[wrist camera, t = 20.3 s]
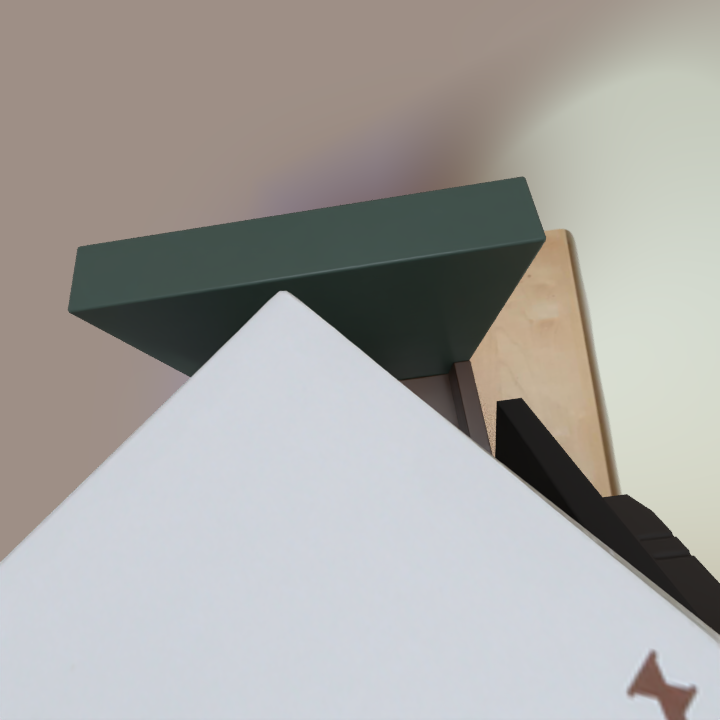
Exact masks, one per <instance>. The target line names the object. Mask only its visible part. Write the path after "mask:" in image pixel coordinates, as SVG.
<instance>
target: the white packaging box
mask: <svg viewBox="0 0 720 720" xmlns="http://www.w3.org/2000/svg"><path fill="white" fill-rule="evenodd" d="M0 720H720V635H719V634H718V633H717V632H715V631H714V630H713V629H712V628H710V627H709V626H708V625H706V624H705V623H704V622H703V621H701V620H700V619H699V618H698V617H696V616H695V615H694V614H693V613H691V612H690V611H689V610H687V609H686V608H685V607H684V606H682V605H681V604H680V603H679V602H677V601H676V600H675V599H674V598H672V597H671V596H670V595H668V594H667V593H666V592H665V591H663V590H662V589H661V588H660V587H658V586H657V585H656V584H655V583H653V582H652V581H651V580H650V579H648V578H647V577H646V576H644V575H643V574H642V573H641V572H639V571H638V570H637V569H636V568H634V567H633V566H632V565H631V564H629V563H628V562H627V561H625V560H624V559H623V558H622V557H620V556H619V555H618V554H617V553H615V552H614V551H613V550H612V549H610V548H609V547H608V546H606V545H605V544H604V543H603V542H601V541H600V540H599V539H598V538H596V537H595V536H594V535H593V534H591V533H590V532H589V531H587V530H586V529H585V528H584V527H582V526H581V525H580V524H579V523H577V522H576V521H575V520H574V519H572V518H571V517H570V516H568V515H567V514H566V513H565V512H563V511H562V510H561V509H560V508H558V507H557V506H556V505H555V504H553V503H552V502H551V501H549V500H548V499H547V498H546V497H544V496H543V495H542V494H541V493H539V492H538V491H537V490H536V489H534V488H533V487H532V486H530V485H529V484H528V483H527V482H525V481H524V480H523V479H522V478H520V477H519V476H518V475H516V474H515V473H514V472H513V471H511V470H510V469H509V468H508V467H506V466H505V465H504V464H503V463H501V462H500V461H499V460H497V459H496V458H495V457H494V456H492V455H491V454H490V453H489V452H487V451H486V450H485V449H484V448H482V447H481V446H480V445H478V444H477V443H476V442H475V441H473V440H472V439H471V438H470V437H468V436H467V435H466V434H464V433H463V432H462V431H461V430H459V429H458V428H457V427H456V426H454V425H453V424H452V423H451V422H449V421H448V420H447V419H446V418H444V417H443V416H442V415H440V414H439V413H438V412H437V411H435V410H434V409H433V408H432V407H430V406H429V405H428V404H427V403H425V402H424V401H423V400H422V399H420V398H419V397H418V396H417V395H415V394H414V393H413V392H412V391H410V390H409V389H408V388H407V387H405V386H404V385H403V384H402V383H400V382H399V381H398V380H397V379H396V378H394V377H393V376H392V375H391V374H389V373H388V372H387V371H386V370H384V369H383V368H382V367H381V366H380V365H378V364H377V363H376V362H375V361H374V360H372V359H371V358H370V357H369V356H368V355H366V354H365V353H364V352H363V351H362V350H360V349H359V348H358V347H357V346H356V345H354V344H353V343H352V342H350V341H349V340H348V339H346V338H345V337H344V336H343V335H342V334H341V333H340V332H338V331H337V330H336V329H335V328H334V327H332V326H331V325H330V324H328V323H327V322H326V321H325V320H323V319H322V318H321V317H320V316H319V315H317V314H316V313H315V312H314V311H312V310H311V309H310V308H309V307H307V306H306V305H305V304H304V303H302V302H301V301H300V300H299V299H297V298H296V297H295V296H293V295H292V294H291V293H289V292H288V291H279V292H278V293H277V294H276V295H275V296H273V297H272V298H271V299H270V300H269V301H268V302H267V303H266V304H265V305H264V306H263V307H262V308H261V309H260V310H259V311H258V312H257V313H256V314H255V315H254V316H253V317H252V318H251V319H250V320H249V321H248V322H247V323H246V324H245V325H244V326H243V327H242V328H241V329H240V330H239V331H238V332H237V333H236V334H235V335H234V336H233V337H232V338H230V339H229V340H228V341H227V342H226V343H225V344H224V345H223V346H222V347H221V348H220V349H219V350H218V351H217V352H216V353H215V354H214V355H213V356H212V357H211V358H210V359H209V360H208V361H207V362H206V363H205V364H204V365H203V366H202V367H201V368H200V369H199V370H198V371H197V372H196V373H195V374H194V375H193V376H192V377H191V378H190V379H189V380H188V381H187V382H186V383H184V385H182V386H181V387H180V388H179V389H178V390H177V391H176V392H175V393H174V394H173V395H172V396H171V397H170V398H169V399H168V400H167V401H166V402H165V403H164V404H163V405H162V406H161V407H160V408H159V409H158V410H157V411H156V412H155V413H154V414H153V415H151V416H150V417H149V419H147V420H146V421H145V422H144V423H143V424H142V425H141V426H140V427H139V428H138V429H137V430H136V431H135V432H134V433H133V434H132V435H131V436H130V437H129V438H128V439H127V440H126V441H125V442H124V443H123V444H122V445H121V446H120V447H119V448H118V449H116V450H115V451H114V452H113V453H112V454H111V455H110V456H109V457H108V458H107V459H106V460H105V461H104V462H103V463H102V464H101V465H100V466H99V467H98V468H97V469H96V470H95V471H94V472H93V473H92V474H91V475H90V476H89V477H88V478H87V479H86V480H85V481H84V482H83V483H81V484H80V485H79V486H78V488H76V489H75V490H74V491H73V492H72V493H71V494H70V495H69V496H68V497H67V498H66V499H65V500H64V501H63V502H62V503H61V504H60V505H59V506H58V507H57V508H56V509H55V510H54V511H53V512H52V513H51V514H50V515H49V516H48V517H46V518H45V519H44V520H43V521H42V522H41V524H39V525H38V526H37V527H36V528H35V529H34V530H33V531H32V532H31V533H30V534H29V535H28V536H27V537H26V538H25V539H24V540H23V541H22V542H21V543H20V544H19V545H18V546H17V547H16V548H15V549H13V550H12V551H11V552H10V553H9V554H8V555H7V556H6V557H5V558H4V559H3V560H2V561H1V562H0Z"/></svg>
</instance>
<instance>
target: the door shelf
mask: <svg viewBox="0 0 720 720" xmlns="http://www.w3.org/2000/svg"><path fill="white" fill-rule="evenodd" d="M398 381H399V382H400V383H402V384H403V385H404V386H405V387H407V388H408V389H409V390H410V391H412V392H413V393H414V394H415V395H417V396H418V397H419V398H420V399H422V400H423V401H424V402H425V403H427V404H428V405H429V406H430V407H432V408H433V409H434V410H435V411H437V412H438V413H439V414H440V415H442V416H443V417H444V418H446V419H447V420H448V421H449V422H451V423H452V424H453V425H454V426H456V427H457V428H458V429H459V430H461V431H462V432H463V433H464V434H466V435H467V436H468V437H470V438H471V439H472V440H473V441H475V442H476V443H477V444H478V445H480V446H481V447H482V448H484V449H485V450H486V451H487V452H489V453H490V454H491V455H492V451H491V447H490V442H489V438H488V434H487V430H486V425H485V421H484V417H483V413H482V408H481V404H480V400H479V396H478V392H477V387H476V383H475V379H474V375H473V370H472V366H471V362H470V361H469V360H468V361H461V362H454V363H453V365H452V367H451V369H450V371H449V373H448V374H441V375H434V376H427V377H419V378H412V379H405V380H398ZM492 456H493V455H492Z"/></svg>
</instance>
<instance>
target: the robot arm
mask: <svg viewBox="0 0 720 720" xmlns="http://www.w3.org/2000/svg"><path fill="white" fill-rule="evenodd" d="M495 458H496V459H497V460H499V461H500V462H501V463H503V464H504V465H505V466H506V467H508V468H509V469H510V470H511V471H513V472H514V473H515V474H516V475H518V476H519V477H520V478H522V479H523V480H524V481H525V482H527V483H528V484H529V485H530V486H532V487H533V488H534V489H536V490H537V491H538V492H539V493H541V494H542V495H543V496H544V497H546V498H547V499H548V500H549V501H551V502H552V503H553V504H555V505H556V506H557V507H558V508H560V509H561V510H562V511H563V512H565V513H566V514H567V515H568V516H570V517H571V518H572V519H574V520H575V521H576V522H577V523H579V524H580V525H581V526H582V527H584V528H585V529H586V530H587V531H589V532H590V533H591V534H593V535H594V536H595V537H596V538H598V539H599V540H600V541H601V542H603V543H604V544H605V545H606V546H608V547H609V548H610V549H612V550H613V551H614V552H615V553H617V554H618V555H619V556H620V557H622V558H623V559H624V560H625V561H627V562H628V563H629V564H631V565H632V566H633V567H634V568H636V569H637V570H638V571H639V572H641V573H642V574H643V575H644V576H646V577H647V578H648V579H650V580H651V581H652V582H653V583H655V584H656V585H657V586H658V587H660V588H661V589H662V590H663V591H665V592H666V593H667V594H668V595H670V596H671V597H672V598H674V599H675V600H676V601H677V602H679V603H680V604H681V605H682V606H684V607H685V608H686V609H687V610H689V611H690V612H691V613H693V614H694V615H695V616H696V617H698V618H699V619H700V620H701V621H703V622H704V623H705V624H706V625H708V626H709V627H710V628H712V629H713V630H714V631H715V632H717V633H718V634H719V635H720V583H719V582H718V581H717V580H716V579H715V578H714V577H713V576H712V575H711V574H710V573H709V572H708V570H707V569H706V568H705V567H704V566H703V565H702V564H701V563H700V562H699V561H698V560H697V559H696V557H695V556H691V554H690V553H689V550H688V549H687V548H686V547H685V546H684V545H683V544H682V542H681V541H680V540H679V539H678V538H677V537H674V536H673V534H672V532H671V531H670V530H669V528H668V527H667V526H666V525H665V524H664V523H663V522H662V521H661V520H660V519H659V518H658V517H657V516H656V515H655V513H654V512H652V511H651V510H650V509H648V508H647V507H645V506H644V505H642V504H641V503H639V502H638V501H636V500H635V499H633V498H631V497H630V496H628V495H627V494H626V495H618V496H610V497H602V496H601V495H600V494H599V492H598V491H597V490H596V489H595V488H594V486H593V485H592V484H591V483H590V481H589V480H588V479H587V478H586V476H585V475H584V474H583V473H582V472H581V470H580V469H579V468H578V467H577V465H576V464H575V463H574V462H573V461H572V459H571V458H570V457H569V456H568V454H567V453H566V452H565V451H564V449H563V448H562V447H561V446H560V445H559V443H558V442H557V441H556V440H555V438H554V437H553V436H552V435H551V434H550V432H549V431H548V430H547V429H546V427H545V426H544V425H543V424H542V422H541V421H540V420H539V419H538V418H537V416H536V415H535V414H534V413H533V411H532V410H531V409H530V408H529V407H528V405H527V404H526V403H525V402H524V400H523V399H522V398H518V399H511V400H503V401H497V412H496V451H495Z"/></svg>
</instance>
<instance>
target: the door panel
mask: <svg viewBox="0 0 720 720" xmlns="http://www.w3.org/2000/svg"><path fill="white" fill-rule="evenodd" d="M545 241H546V236H545V233H544V230H543V227H542V225H541V222H540V219H539V216H538V213H537V210H536V207H535V205H534V202H533V199H532V196H531V193H530V191H529V187H528V185H527V182H526V179H525V178H524V177H517V178H511V179H504V180H499V181H492V182H485V183H479V184H474V185H466V186H461V187H454V188H448V189H442V190H435V191H429V192H423V193H416V194H409V195H404V196H397V197H390V198H384V199H378V200H373V201H372V200H371V201H365V202H359V203H353V204H346V205H340V206H334V207H327V208H321V209H315V210H308V211H302V212H296V213H289V214H284V215H277V216H270V217H264V218H258V219H251V220H245V221H239V222H232V223H226V224H220V225H213V226H207V227H201V228H195V229H189V230H182V231H175V232H169V233H163V234H157V235H150V236H144V237H137V238H131V239H125V240H118V241H113V242H106V243H99V244H93V245H87V246H81V247H78V249H77V256H76V262H75V268H74V274H73V281H72V287H71V293H70V300H69V306H68V311H69V313H71V314H73V315H75V316H77V317H79V318H81V319H82V320H84V321H86V322H88V323H90V324H92V325H94V326H96V327H98V328H99V329H101V330H103V331H105V332H107V333H109V334H111V335H112V336H114V337H116V338H118V339H120V340H122V341H124V342H125V343H127V344H129V345H131V346H133V347H135V348H137V349H139V350H140V351H142V352H144V353H146V354H148V355H150V356H152V357H154V358H155V359H157V360H159V361H161V362H163V363H165V364H167V365H169V366H171V367H173V368H174V369H176V370H178V371H180V372H182V373H184V374H186V375H187V376H189V377H192V376H193V375H194V374H195V373H196V372H197V371H198V370H199V369H200V368H201V367H202V366H203V365H204V364H205V363H206V362H207V361H208V360H209V359H210V358H211V357H212V356H213V355H214V354H215V353H216V352H217V351H218V350H219V349H220V348H221V347H222V346H223V345H224V344H225V343H226V342H227V341H228V340H229V339H230V338H232V337H233V336H234V335H235V334H236V333H237V332H238V331H239V330H240V329H241V328H242V327H243V326H244V325H245V324H246V323H247V322H248V321H249V320H250V319H251V318H252V317H253V316H254V315H255V314H256V313H257V312H258V311H259V310H260V309H261V308H262V307H263V306H264V305H265V304H266V303H267V302H268V301H269V300H270V299H271V298H272V297H273V296H275V295H276V294H277V293H278V292H279V291H288V292H289V293H291V294H292V295H293V296H295V297H296V298H297V299H299V300H300V301H301V302H302V303H304V304H305V305H306V306H307V307H309V308H310V309H311V310H312V311H314V312H315V313H316V314H317V315H319V316H320V317H321V318H322V319H323V320H325V321H326V322H327V323H328V324H330V325H331V326H332V327H334V328H335V329H336V330H337V331H338V332H340V333H341V334H342V335H343V336H344V337H345V338H346V339H348V340H349V341H350V342H352V343H353V344H354V345H356V346H357V347H358V348H359V349H360V350H362V351H363V352H364V353H365V354H366V355H368V356H369V357H370V358H371V359H372V360H374V361H375V362H376V363H377V364H378V365H380V366H381V367H382V368H383V369H384V370H386V371H387V372H388V373H389V374H391V375H392V376H393V377H394V378H396V379H397V380H405V379H412V378H419V377H427V376H434V375H441V374H448V373H449V371H450V369H451V367H452V365H453V363H454V362H461V361H468V360H470V358H471V357H472V355H473V354H474V352H475V350H476V349H477V347H478V346H479V344H480V343H481V341H482V339H483V338H484V336H485V335H486V333H487V332H488V330H489V328H490V327H491V325H492V324H493V322H494V321H495V319H496V317H497V316H498V314H499V313H500V311H501V310H502V308H503V306H504V305H505V303H506V302H507V300H508V299H509V297H510V296H511V294H512V292H513V291H514V289H515V288H516V286H517V285H518V283H519V281H520V280H521V278H522V277H523V275H524V274H525V272H526V270H527V269H528V267H529V266H530V264H531V263H532V261H533V259H534V258H535V256H536V255H537V253H538V252H539V250H540V249H541V247H542V245H543V244H544V242H545Z"/></svg>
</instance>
